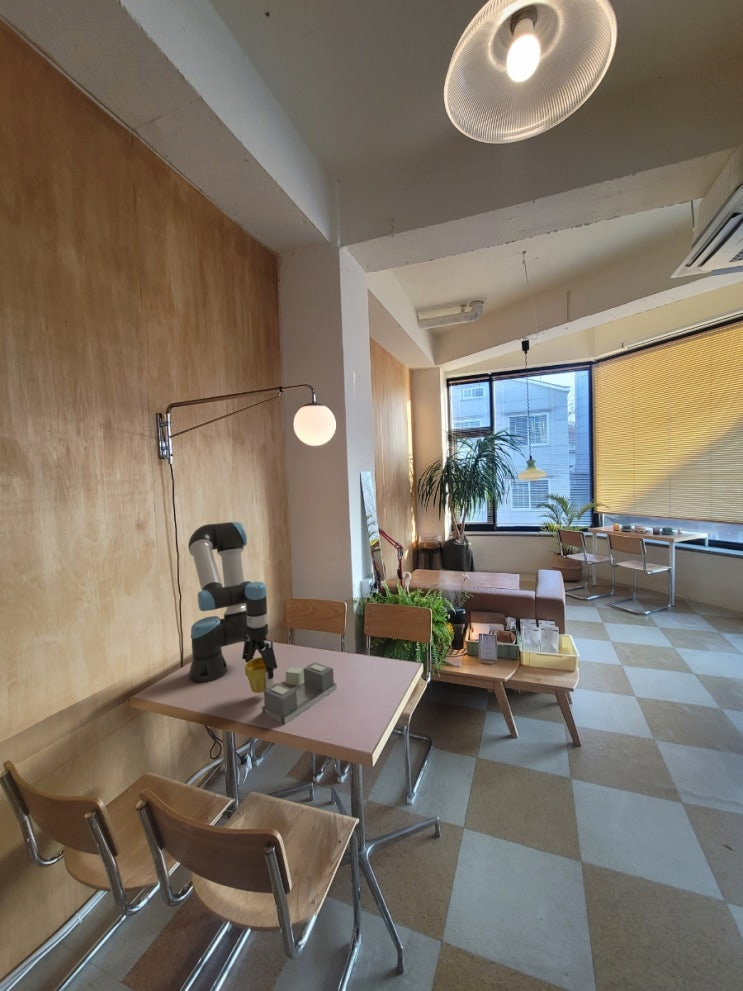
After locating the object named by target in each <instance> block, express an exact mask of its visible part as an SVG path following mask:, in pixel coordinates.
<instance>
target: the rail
mask: <svg viewBox="0 0 743 991" xmlns="http://www.w3.org/2000/svg"><path fill="white" fill-rule="evenodd" d="M292 689H293V690H295V691H296V695H297V708H296V709H294V710H293V711H291V712H290V713H288V714H287V715H285V716H281V715H279V714H277V713H275V712H273V711H271V710H269V709H267V708H265V705H263V706H262V707H261V713H262V714H263V715H265V716H267V717H270V718H272V719H274V720H276V721H277V722H280V723H282V724H284V725H286V724H288V723H289V722H290V721H292V720H293V719H295V718H297V717H298V716H299V715H301V714H303V712H305V711H307V710H308V709H310V708H311V707H312V706H314V705H316V704H317V703H319V702H320V701H322V700H323V699H324V698H326V697H327V696H329V695H330V694H331V693H333V692H335V691H336V690H337V689H338V686H337V683H335V682H334V684H332V685H331V686H329V687H328V688H326V689H325V690H320V689H317V688H314V687H312V686H309V685H307V684H304V681H303V682H302V684H300V685H296V686H295V687H293V688H292Z"/></svg>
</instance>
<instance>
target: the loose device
mask: <svg viewBox="0 0 743 991" xmlns="http://www.w3.org/2000/svg"><path fill="white" fill-rule="evenodd" d="M303 682H304V668H303V667H302V668H300V667H288V669H287V670H286V671H285V684H286V685H290V686H291V685H293V686H298V685H300V684H302V683H303Z"/></svg>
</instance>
